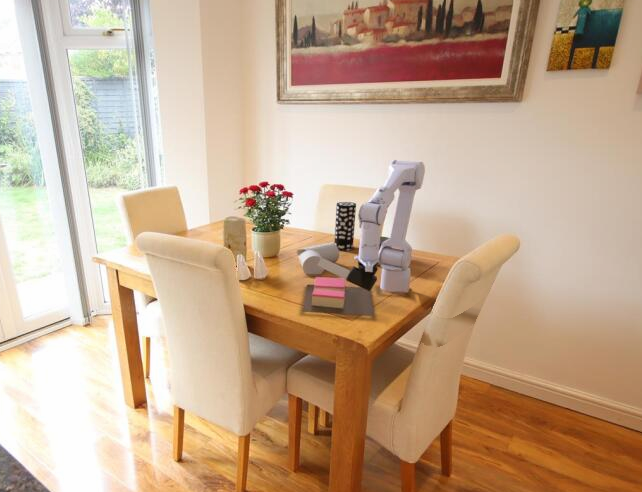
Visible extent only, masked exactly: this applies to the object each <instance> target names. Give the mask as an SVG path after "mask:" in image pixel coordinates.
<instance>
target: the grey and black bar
mask: <svg viewBox="0 0 642 492" xmlns="http://www.w3.org/2000/svg"><path fill="white" fill-rule="evenodd" d="M317 266H318V267H321V268H323V269H324V271H327V272H329V273H331V274H334V275H335V276H338V277H339V278H344V279H345V282H348V283H351V284H352V285H354V286H356V287H361V288H362V280H361V274H360V271H359V269H358V267H357V266H355V265H353V266H352V267H351V269H348V268H345V267H343V266H341V265H339V264H337V263H336V262H334V263H332V262H330V261H328V260H326V259H324V258H322V257H321V259H320V261H319V263H318V265H317ZM377 281H378V277H377V276H376V275H374V277H373V279H372V282H371V286H370V288H364V289H366V290H368V291H371V292H372V289H373V288H374V286H375V284H376V283H377Z"/></svg>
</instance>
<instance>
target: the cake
mask: <svg viewBox="0 0 642 492" xmlns="http://www.w3.org/2000/svg"><path fill="white" fill-rule="evenodd" d="M313 285H314V289H320V290H332V291H343V292H345V286H346V279H344V278H342V277H325V276H323V277H321V276H315V279H314V284H313Z"/></svg>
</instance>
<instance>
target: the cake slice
mask: <svg viewBox="0 0 642 492" xmlns="http://www.w3.org/2000/svg"><path fill="white" fill-rule="evenodd" d="M344 300H345V292H343V291H332V290H320V289H314V291H313V293H312V305H313V306H324V307H334V308H343V307H344Z"/></svg>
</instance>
